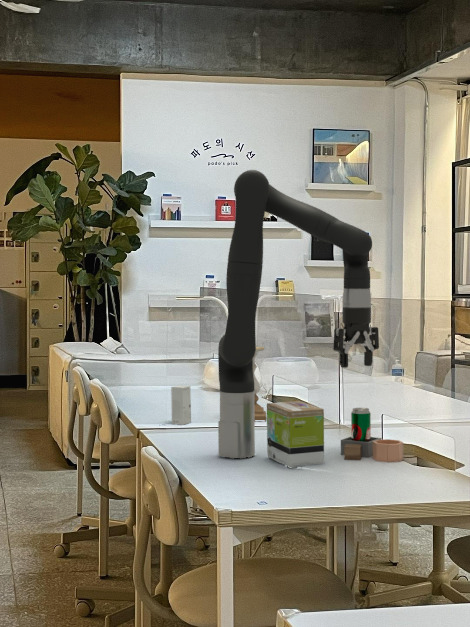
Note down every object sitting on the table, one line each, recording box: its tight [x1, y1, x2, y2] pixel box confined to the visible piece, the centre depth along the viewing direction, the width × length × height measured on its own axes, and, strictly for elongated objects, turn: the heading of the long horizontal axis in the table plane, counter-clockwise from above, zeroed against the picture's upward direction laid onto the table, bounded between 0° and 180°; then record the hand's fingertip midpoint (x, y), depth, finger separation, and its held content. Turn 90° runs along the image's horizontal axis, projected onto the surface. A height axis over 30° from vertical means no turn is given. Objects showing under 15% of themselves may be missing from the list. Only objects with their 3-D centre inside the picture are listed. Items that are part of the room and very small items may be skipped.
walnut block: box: [343, 444, 362, 461], centre depth 247 cm, size 4×4×4 cm
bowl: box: [372, 439, 404, 463], centre depth 246 cm, size 7×7×5 cm
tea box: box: [266, 400, 325, 467], centre depth 246 cm, size 15×10×15 cm, turn 21°
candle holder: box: [253, 345, 267, 421], centre depth 317 cm, size 11×11×24 cm
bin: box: [340, 436, 382, 459], centre depth 253 cm, size 8×8×4 cm
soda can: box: [350, 407, 372, 442], centre depth 253 cm, size 5×5×12 cm
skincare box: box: [170, 384, 192, 426], centre depth 309 cm, size 6×4×12 cm
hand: (356, 366), depth 255 cm, fingers open, 8 cm apart
